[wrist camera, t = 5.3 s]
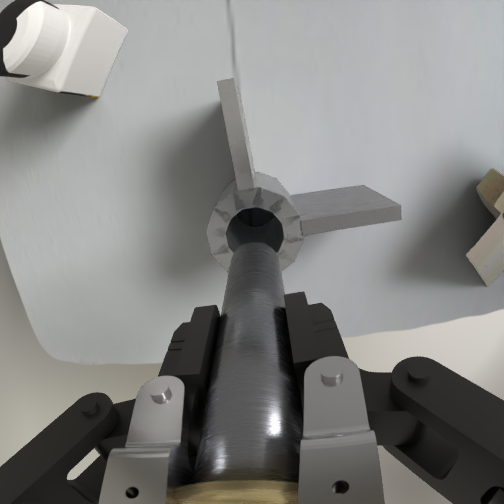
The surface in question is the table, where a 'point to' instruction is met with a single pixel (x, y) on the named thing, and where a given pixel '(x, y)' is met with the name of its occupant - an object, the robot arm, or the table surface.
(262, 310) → the pin
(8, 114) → the table surface
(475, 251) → the beige folded piece
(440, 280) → the table surface
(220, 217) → the hinge
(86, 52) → the medicine bottle
